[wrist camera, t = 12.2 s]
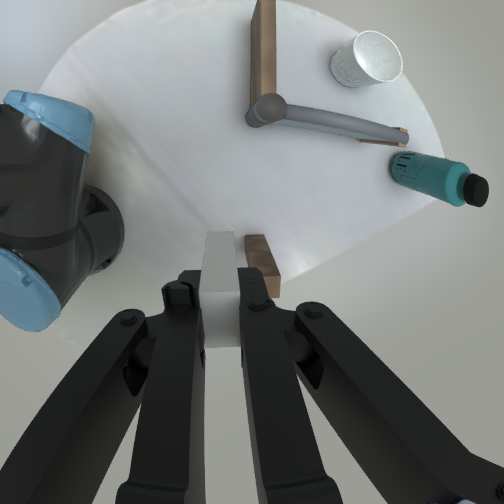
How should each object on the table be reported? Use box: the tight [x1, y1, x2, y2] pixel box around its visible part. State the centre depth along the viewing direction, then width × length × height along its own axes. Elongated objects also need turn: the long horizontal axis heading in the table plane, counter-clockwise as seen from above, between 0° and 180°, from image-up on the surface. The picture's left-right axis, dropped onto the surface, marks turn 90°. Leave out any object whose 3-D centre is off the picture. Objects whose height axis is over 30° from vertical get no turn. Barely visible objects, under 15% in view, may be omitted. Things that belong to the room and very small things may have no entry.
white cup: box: [330, 31, 403, 87], centre depth 30 cm, size 8×8×10 cm
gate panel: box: [269, 104, 409, 148], centre depth 32 cm, size 16×2×12 cm, turn 85°
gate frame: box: [245, 0, 287, 298], centre depth 31 cm, size 3×38×14 cm, turn 0°
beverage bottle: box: [392, 152, 489, 207], centre depth 32 cm, size 6×7×20 cm
